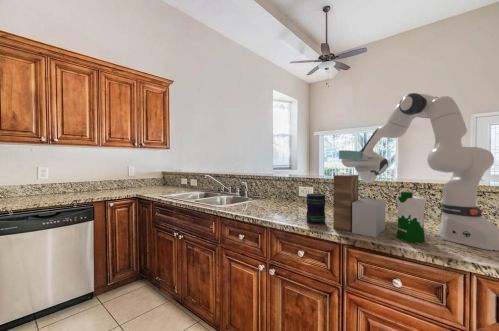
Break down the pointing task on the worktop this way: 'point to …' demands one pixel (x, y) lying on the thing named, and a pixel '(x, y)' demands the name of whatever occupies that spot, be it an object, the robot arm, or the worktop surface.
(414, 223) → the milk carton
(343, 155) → the teal tile
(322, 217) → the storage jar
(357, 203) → the grey step
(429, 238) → the worktop surface
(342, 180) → the brown tall block
